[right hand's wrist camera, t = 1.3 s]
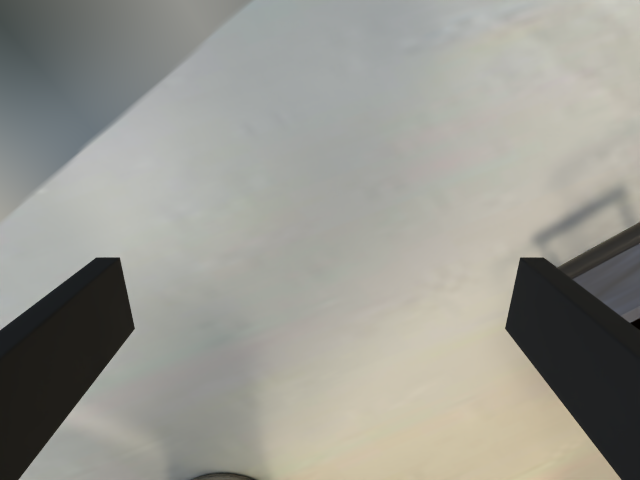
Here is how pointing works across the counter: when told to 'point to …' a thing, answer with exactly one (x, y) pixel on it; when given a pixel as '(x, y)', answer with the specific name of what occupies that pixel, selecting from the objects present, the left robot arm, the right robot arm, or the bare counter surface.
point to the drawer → (612, 273)
